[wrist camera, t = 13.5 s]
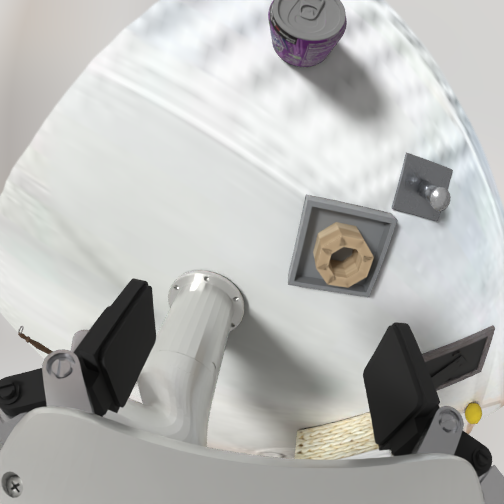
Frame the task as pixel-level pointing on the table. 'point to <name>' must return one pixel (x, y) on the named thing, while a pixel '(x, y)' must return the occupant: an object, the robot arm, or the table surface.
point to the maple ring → (350, 267)
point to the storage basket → (339, 441)
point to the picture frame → (458, 359)
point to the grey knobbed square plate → (422, 188)
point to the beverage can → (306, 29)
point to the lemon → (473, 413)
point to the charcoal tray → (370, 227)
